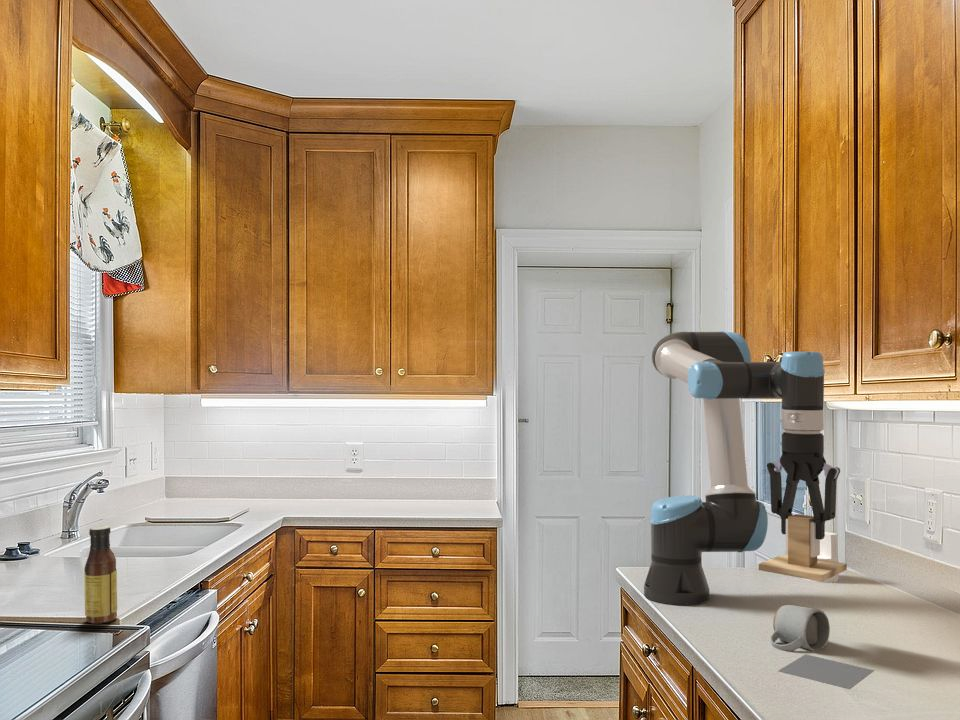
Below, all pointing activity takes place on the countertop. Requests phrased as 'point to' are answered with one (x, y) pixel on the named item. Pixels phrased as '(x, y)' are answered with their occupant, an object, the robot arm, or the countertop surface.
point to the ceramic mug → (800, 628)
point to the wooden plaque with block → (801, 555)
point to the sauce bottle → (100, 578)
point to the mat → (826, 671)
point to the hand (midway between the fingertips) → (802, 553)
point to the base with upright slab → (828, 552)
